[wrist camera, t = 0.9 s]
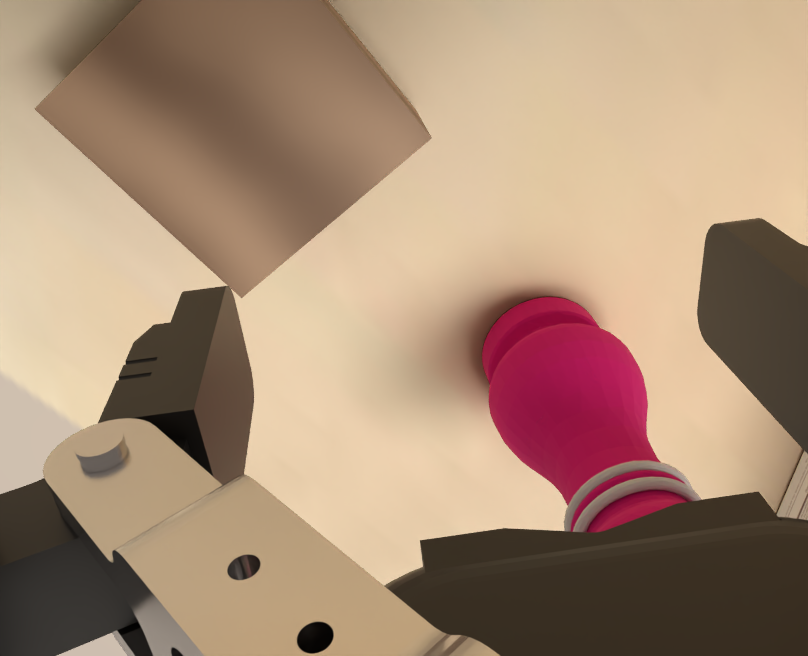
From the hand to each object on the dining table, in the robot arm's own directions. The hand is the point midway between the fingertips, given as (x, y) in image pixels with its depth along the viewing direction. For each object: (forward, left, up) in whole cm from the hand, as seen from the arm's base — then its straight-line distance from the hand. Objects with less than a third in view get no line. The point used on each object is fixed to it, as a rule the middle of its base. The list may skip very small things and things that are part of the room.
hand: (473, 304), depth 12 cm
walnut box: (+5, -2, -22) cm, 22 cm away
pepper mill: (-1, +16, -22) cm, 27 cm away
